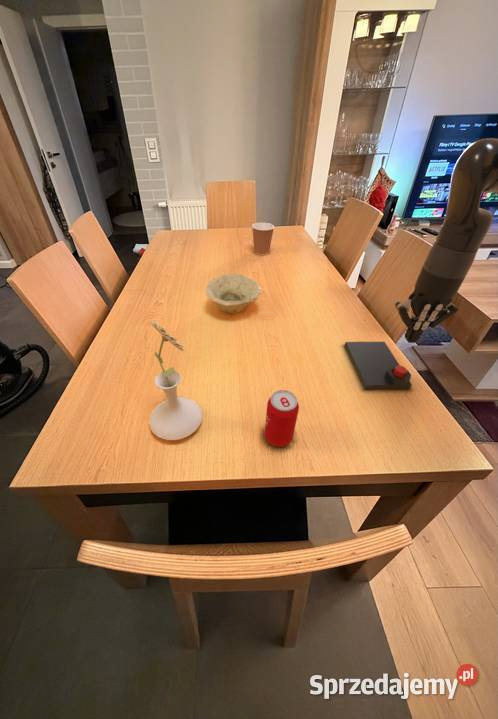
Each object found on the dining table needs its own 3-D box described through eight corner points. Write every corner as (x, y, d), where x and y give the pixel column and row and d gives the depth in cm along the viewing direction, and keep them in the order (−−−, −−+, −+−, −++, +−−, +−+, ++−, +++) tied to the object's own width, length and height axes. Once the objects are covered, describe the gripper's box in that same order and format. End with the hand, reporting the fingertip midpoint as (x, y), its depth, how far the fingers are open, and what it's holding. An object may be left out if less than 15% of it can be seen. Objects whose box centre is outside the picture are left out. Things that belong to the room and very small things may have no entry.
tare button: (406, 377, 76) (408, 372, 75) (395, 378, 76) (398, 373, 75) (401, 370, 78) (403, 365, 77) (391, 370, 78) (393, 365, 77)
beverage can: (285, 421, 68) (292, 385, 61) (297, 444, 64) (306, 408, 56) (260, 428, 67) (263, 391, 59) (270, 451, 62) (275, 415, 55)
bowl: (243, 308, 113) (272, 295, 103) (212, 326, 101) (240, 313, 90) (226, 274, 110) (253, 257, 100) (192, 288, 98) (218, 270, 88)
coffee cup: (264, 246, 149) (265, 221, 141) (276, 253, 143) (279, 227, 135) (246, 250, 145) (247, 224, 137) (258, 257, 138) (260, 231, 130)
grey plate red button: (410, 390, 77) (415, 380, 75) (365, 391, 77) (369, 381, 74) (382, 345, 91) (386, 336, 89) (344, 346, 90) (347, 336, 88)
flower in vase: (208, 435, 65) (199, 345, 49) (154, 451, 62) (125, 360, 45) (194, 393, 74) (183, 305, 58) (147, 405, 71) (120, 315, 54)
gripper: (420, 276, 54) (388, 351, 65) (490, 277, 54) (446, 351, 66) (402, 260, 59) (375, 331, 71) (466, 260, 60) (429, 331, 71)
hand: (410, 340), depth 68 cm, fingers closed
